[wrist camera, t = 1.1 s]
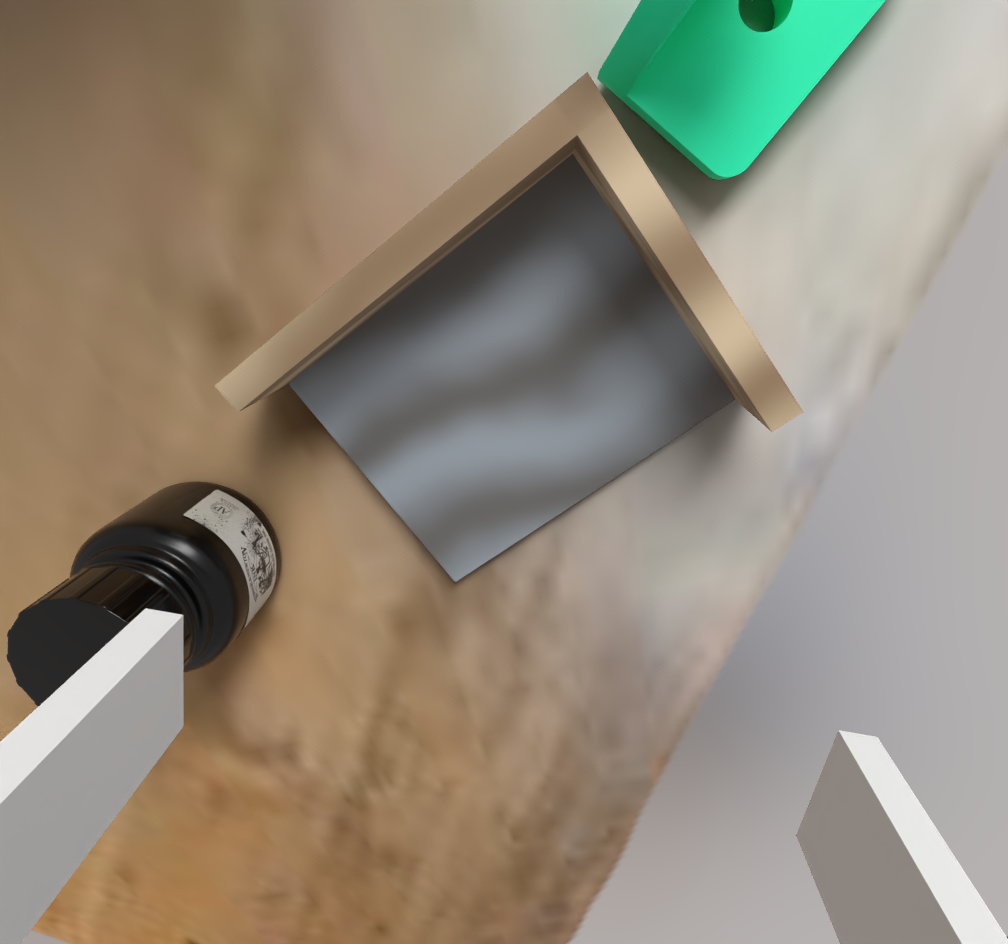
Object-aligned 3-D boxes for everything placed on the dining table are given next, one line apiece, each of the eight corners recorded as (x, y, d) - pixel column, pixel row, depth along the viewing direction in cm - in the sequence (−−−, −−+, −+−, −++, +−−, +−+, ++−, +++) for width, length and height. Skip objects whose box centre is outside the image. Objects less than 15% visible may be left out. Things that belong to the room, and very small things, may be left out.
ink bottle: (293, 618, 42) (199, 759, 31) (157, 616, 43) (15, 753, 31) (272, 470, 39) (158, 567, 28) (125, 470, 40) (-46, 565, 28)
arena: (274, 358, 37) (214, 385, 30) (580, 106, 32) (587, 72, 25) (457, 575, 40) (438, 642, 34) (756, 379, 35) (803, 412, 29)
